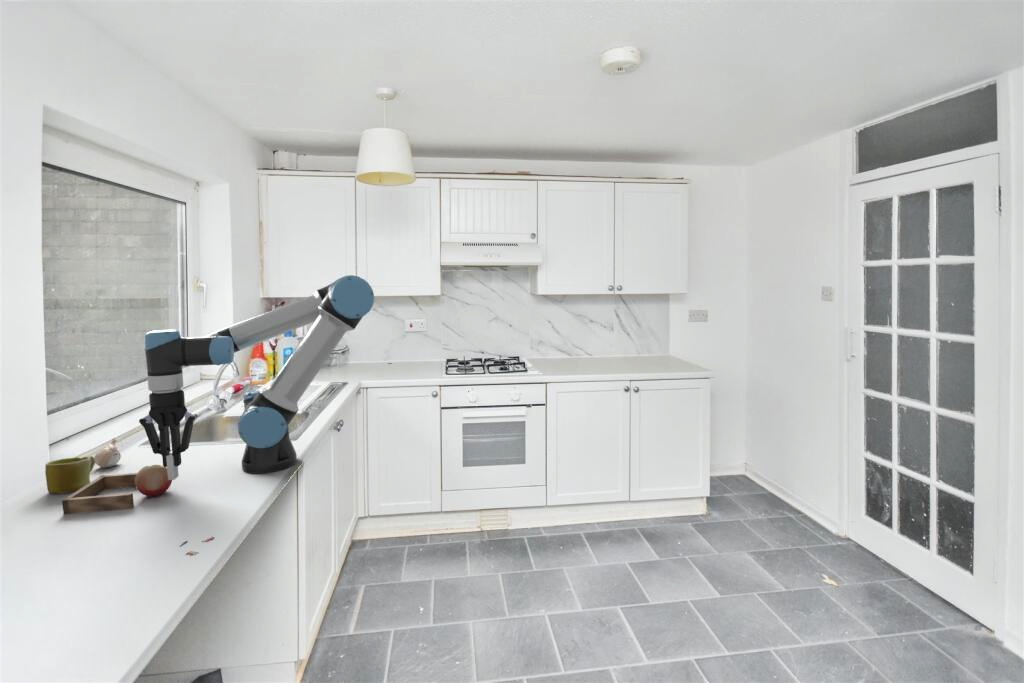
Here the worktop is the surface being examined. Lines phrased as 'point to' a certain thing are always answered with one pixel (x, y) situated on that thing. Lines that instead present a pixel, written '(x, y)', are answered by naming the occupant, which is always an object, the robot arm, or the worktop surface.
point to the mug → (68, 474)
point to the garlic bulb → (108, 455)
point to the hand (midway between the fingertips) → (173, 478)
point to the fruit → (152, 480)
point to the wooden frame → (90, 502)
